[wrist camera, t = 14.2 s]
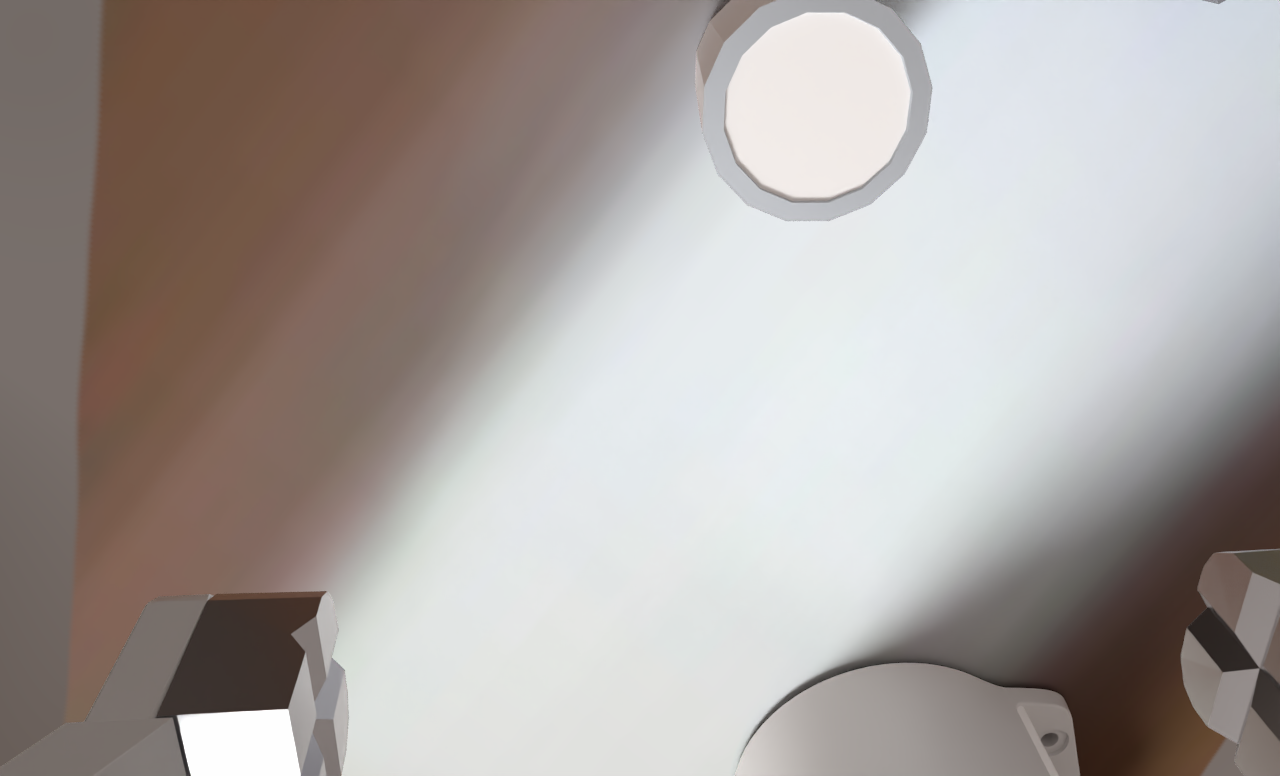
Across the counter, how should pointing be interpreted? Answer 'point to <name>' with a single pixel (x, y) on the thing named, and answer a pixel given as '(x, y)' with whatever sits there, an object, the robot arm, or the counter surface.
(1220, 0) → the bin
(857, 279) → the counter surface
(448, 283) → the counter surface
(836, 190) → the shot glass
